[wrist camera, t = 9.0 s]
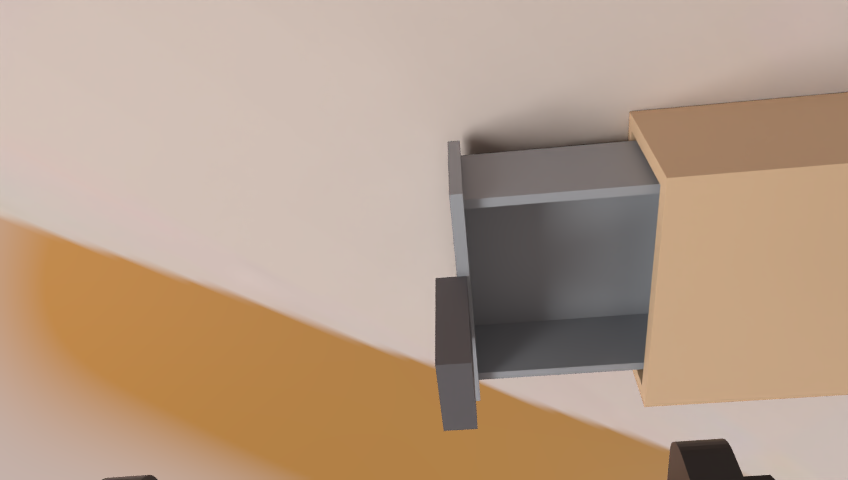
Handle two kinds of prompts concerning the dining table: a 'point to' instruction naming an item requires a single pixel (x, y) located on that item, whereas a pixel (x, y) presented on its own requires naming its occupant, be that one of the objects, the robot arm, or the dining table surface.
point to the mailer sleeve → (747, 250)
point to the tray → (544, 267)
